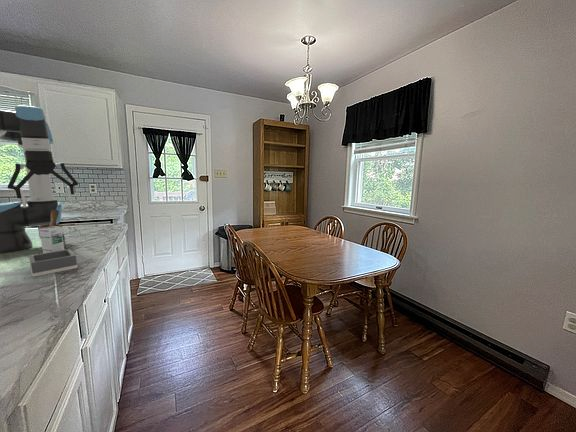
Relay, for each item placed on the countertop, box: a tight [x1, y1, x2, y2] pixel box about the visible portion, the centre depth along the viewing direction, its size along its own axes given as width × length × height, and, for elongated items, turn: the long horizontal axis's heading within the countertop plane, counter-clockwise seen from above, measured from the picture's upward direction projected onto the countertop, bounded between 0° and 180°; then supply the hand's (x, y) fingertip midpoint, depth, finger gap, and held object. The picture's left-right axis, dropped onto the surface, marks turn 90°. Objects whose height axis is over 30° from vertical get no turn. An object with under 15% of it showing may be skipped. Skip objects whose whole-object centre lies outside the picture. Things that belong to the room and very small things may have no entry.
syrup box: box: [38, 226, 67, 254], centre depth 113 cm, size 6×6×14 cm
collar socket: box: [28, 248, 79, 278], centre depth 103 cm, size 13×13×5 cm
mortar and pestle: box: [37, 210, 63, 240], centre depth 125 cm, size 12×9×20 cm
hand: (49, 204), depth 103 cm, fingers open, 13 cm apart
